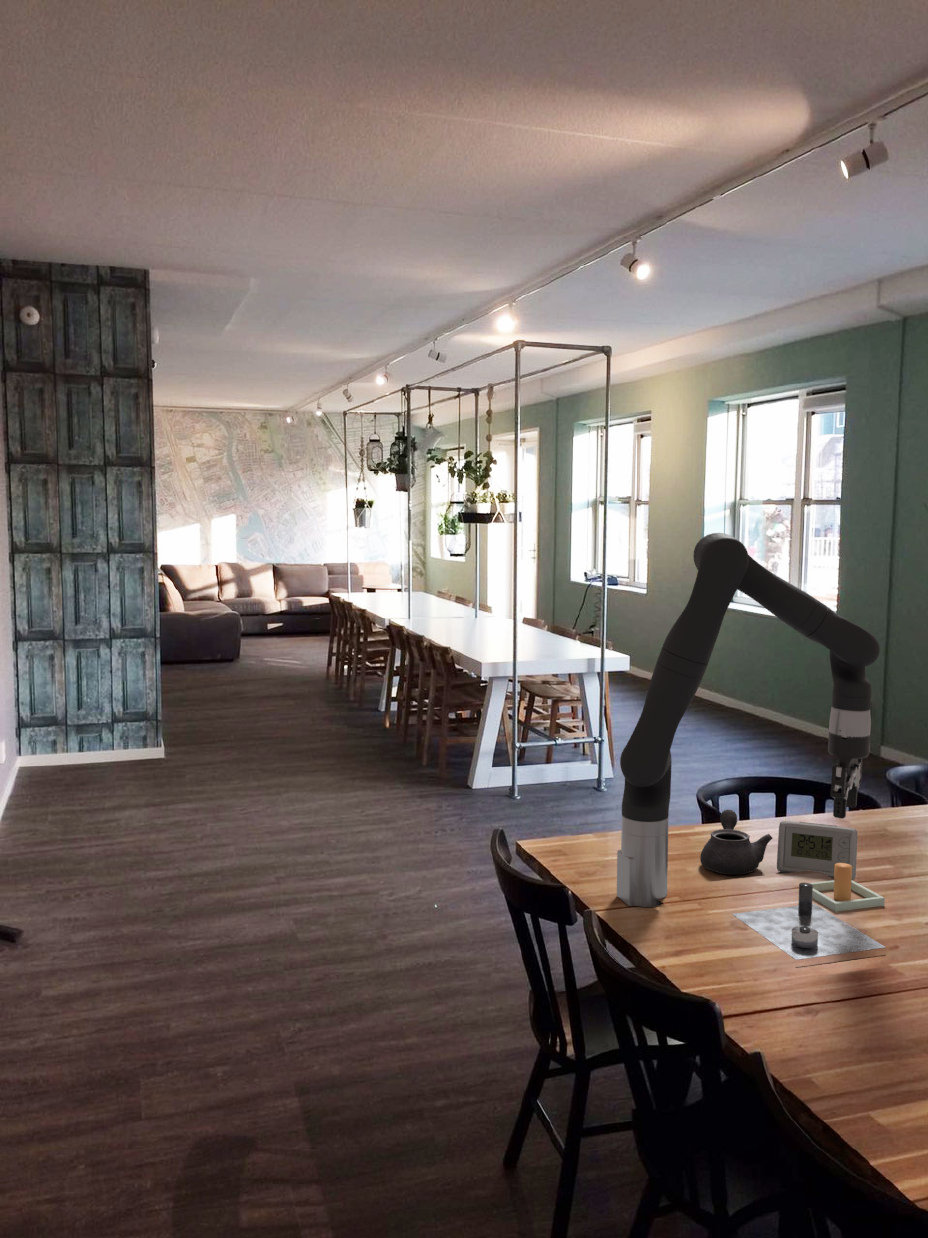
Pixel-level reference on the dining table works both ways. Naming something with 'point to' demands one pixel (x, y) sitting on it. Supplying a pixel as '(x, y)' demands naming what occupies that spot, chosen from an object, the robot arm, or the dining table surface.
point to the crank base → (830, 928)
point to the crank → (805, 919)
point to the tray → (869, 900)
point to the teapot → (732, 848)
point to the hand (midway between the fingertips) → (844, 812)
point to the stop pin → (842, 881)
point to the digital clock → (815, 847)
